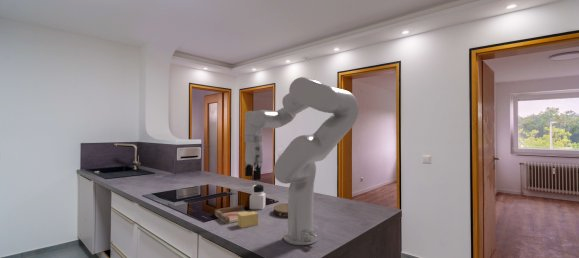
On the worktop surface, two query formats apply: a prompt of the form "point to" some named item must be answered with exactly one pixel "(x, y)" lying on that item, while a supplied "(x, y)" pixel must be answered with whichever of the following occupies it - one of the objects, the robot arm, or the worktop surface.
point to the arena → (229, 213)
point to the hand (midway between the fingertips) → (252, 177)
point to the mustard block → (247, 219)
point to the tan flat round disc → (281, 210)
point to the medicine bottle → (257, 197)
